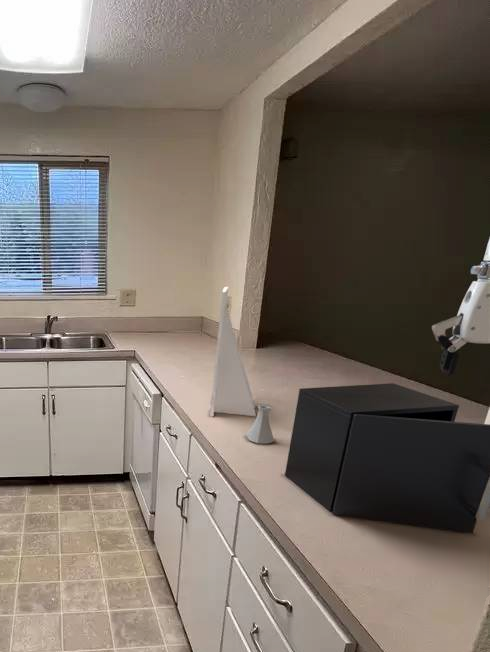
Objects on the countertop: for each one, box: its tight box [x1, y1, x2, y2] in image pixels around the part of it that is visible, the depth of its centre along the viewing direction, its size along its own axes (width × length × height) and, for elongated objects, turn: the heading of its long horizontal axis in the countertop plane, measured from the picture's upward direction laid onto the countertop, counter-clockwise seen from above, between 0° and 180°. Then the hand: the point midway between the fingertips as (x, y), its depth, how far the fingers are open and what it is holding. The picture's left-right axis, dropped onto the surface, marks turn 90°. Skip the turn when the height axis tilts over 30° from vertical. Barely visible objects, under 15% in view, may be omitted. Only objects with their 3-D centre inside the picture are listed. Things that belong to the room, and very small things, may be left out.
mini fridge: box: [284, 382, 460, 513], centre depth 95 cm, size 16×24×22 cm, turn 99°
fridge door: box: [331, 414, 490, 534], centre depth 80 cm, size 6×24×22 cm, turn 74°
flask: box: [246, 404, 275, 445], centre depth 123 cm, size 7×7×10 cm
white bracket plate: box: [209, 286, 257, 418], centre depth 143 cm, size 20×14×40 cm
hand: (478, 374), depth 76 cm, fingers open, 9 cm apart
